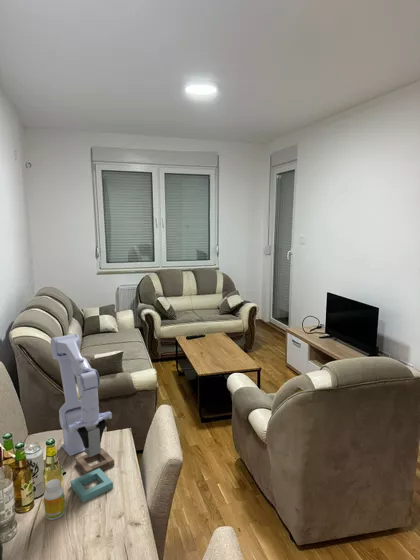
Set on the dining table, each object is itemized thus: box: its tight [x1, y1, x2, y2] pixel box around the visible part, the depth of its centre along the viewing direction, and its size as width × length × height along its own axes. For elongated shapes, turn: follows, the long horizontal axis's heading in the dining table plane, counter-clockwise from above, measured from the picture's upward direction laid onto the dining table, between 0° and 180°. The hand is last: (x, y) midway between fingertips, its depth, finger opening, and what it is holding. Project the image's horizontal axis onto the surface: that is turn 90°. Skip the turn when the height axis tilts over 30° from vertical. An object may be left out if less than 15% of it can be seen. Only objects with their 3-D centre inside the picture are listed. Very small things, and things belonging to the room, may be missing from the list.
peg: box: [84, 425, 102, 457], centre depth 129 cm, size 4×4×9 cm
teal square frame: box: [70, 468, 114, 503], centre depth 123 cm, size 10×10×2 cm
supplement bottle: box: [43, 478, 66, 521], centre depth 111 cm, size 5×5×10 cm
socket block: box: [75, 448, 115, 475], centre depth 135 cm, size 10×10×2 cm
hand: (92, 444), depth 129 cm, fingers closed on peg, 4 cm apart
